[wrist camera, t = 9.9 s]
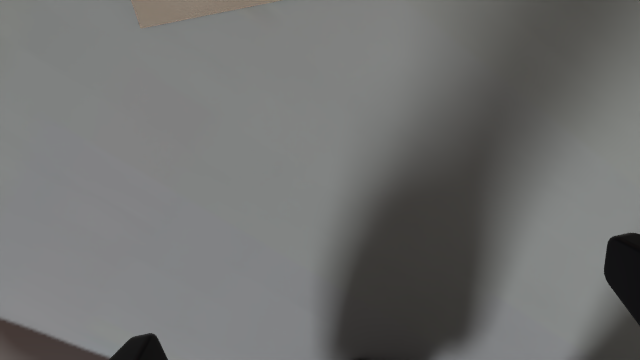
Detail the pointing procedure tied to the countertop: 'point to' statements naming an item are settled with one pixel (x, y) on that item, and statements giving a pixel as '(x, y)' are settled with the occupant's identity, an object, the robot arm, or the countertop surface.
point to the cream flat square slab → (185, 9)
